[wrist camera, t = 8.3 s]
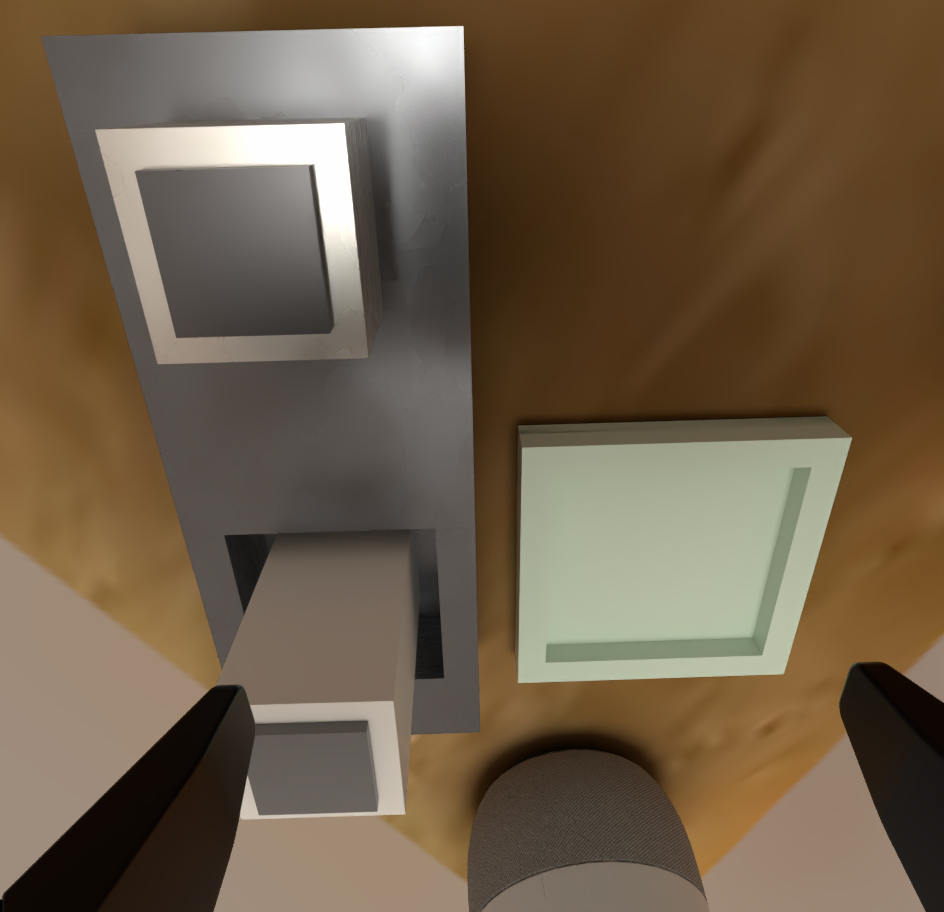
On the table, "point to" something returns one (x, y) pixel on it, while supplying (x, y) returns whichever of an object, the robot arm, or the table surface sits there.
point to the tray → (668, 544)
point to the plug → (330, 674)
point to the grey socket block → (296, 299)
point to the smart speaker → (580, 840)
